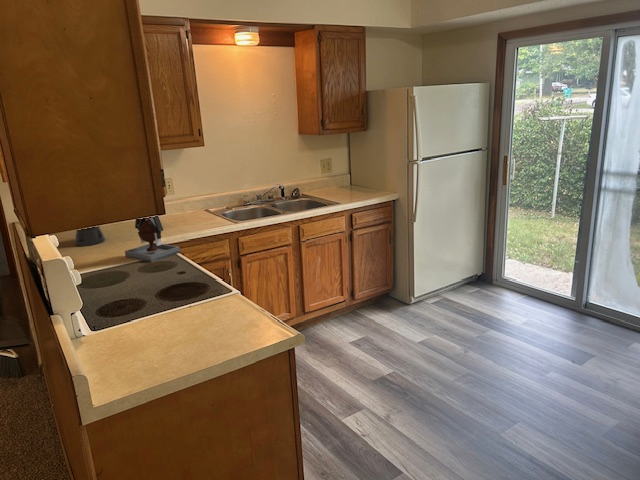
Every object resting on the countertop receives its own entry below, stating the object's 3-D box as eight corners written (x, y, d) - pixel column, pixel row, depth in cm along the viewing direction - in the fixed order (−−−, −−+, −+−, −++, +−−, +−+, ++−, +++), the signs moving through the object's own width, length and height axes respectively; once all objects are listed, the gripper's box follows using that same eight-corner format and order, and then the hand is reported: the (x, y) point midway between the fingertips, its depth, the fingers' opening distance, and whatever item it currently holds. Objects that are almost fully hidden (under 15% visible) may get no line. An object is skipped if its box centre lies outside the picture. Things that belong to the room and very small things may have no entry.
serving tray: (125, 256, 235) (124, 251, 235) (154, 247, 249) (153, 242, 248) (151, 262, 224) (150, 256, 224) (180, 252, 238) (179, 246, 237)
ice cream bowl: (136, 253, 232) (131, 223, 228) (148, 246, 242) (144, 217, 238) (156, 253, 230) (151, 222, 226) (167, 246, 240) (163, 217, 236)
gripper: (122, 199, 233) (130, 243, 239) (153, 202, 220) (160, 248, 226) (136, 197, 239) (142, 239, 245) (167, 199, 226) (173, 244, 232)
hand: (151, 243), depth 235 cm, fingers closed on ice cream bowl, 11 cm apart
